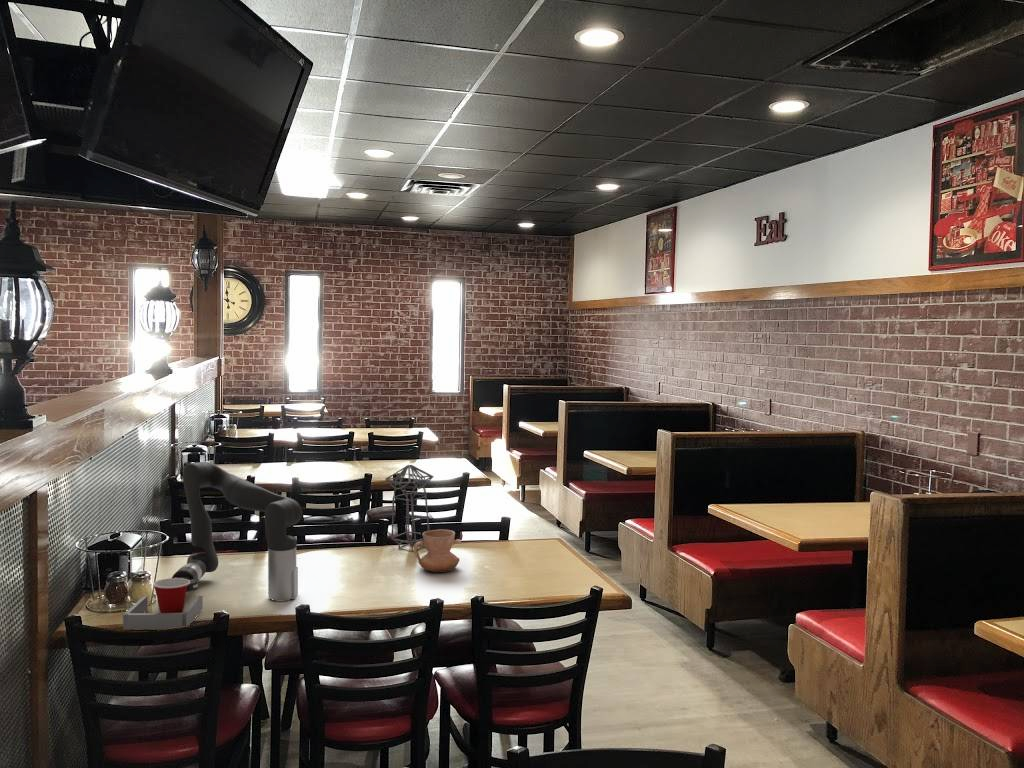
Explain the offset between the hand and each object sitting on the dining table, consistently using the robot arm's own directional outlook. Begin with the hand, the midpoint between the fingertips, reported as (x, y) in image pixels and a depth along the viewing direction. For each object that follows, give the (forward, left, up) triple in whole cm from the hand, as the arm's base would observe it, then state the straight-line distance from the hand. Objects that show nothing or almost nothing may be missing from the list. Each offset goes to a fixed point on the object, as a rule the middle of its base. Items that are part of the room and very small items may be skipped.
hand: (168, 594), depth 252 cm
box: (0, +6, -6) cm, 9 cm away
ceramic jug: (-84, -43, -7) cm, 95 cm away
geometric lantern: (-72, -72, -7) cm, 103 cm away
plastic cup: (-2, +4, -7) cm, 8 cm away
